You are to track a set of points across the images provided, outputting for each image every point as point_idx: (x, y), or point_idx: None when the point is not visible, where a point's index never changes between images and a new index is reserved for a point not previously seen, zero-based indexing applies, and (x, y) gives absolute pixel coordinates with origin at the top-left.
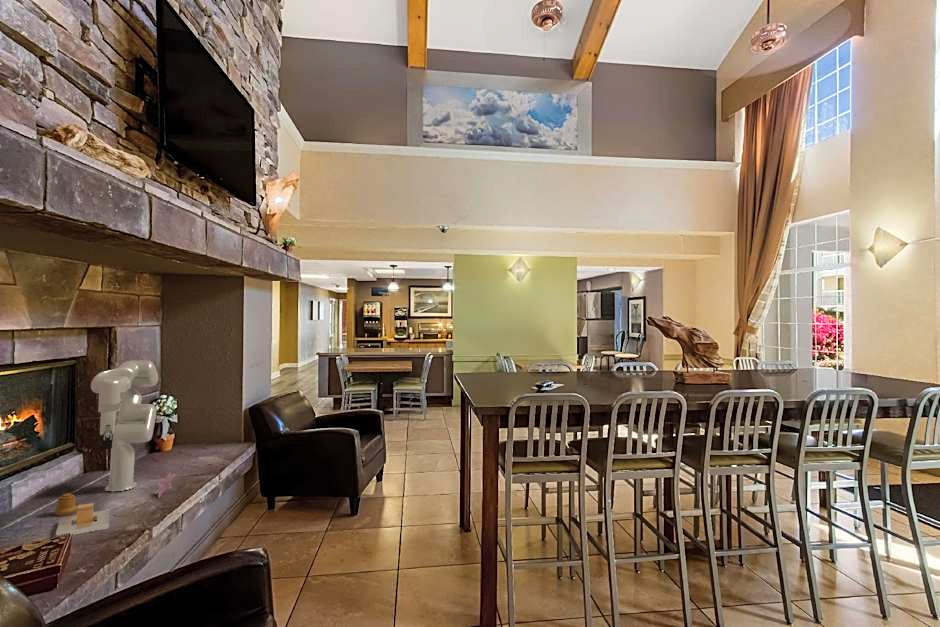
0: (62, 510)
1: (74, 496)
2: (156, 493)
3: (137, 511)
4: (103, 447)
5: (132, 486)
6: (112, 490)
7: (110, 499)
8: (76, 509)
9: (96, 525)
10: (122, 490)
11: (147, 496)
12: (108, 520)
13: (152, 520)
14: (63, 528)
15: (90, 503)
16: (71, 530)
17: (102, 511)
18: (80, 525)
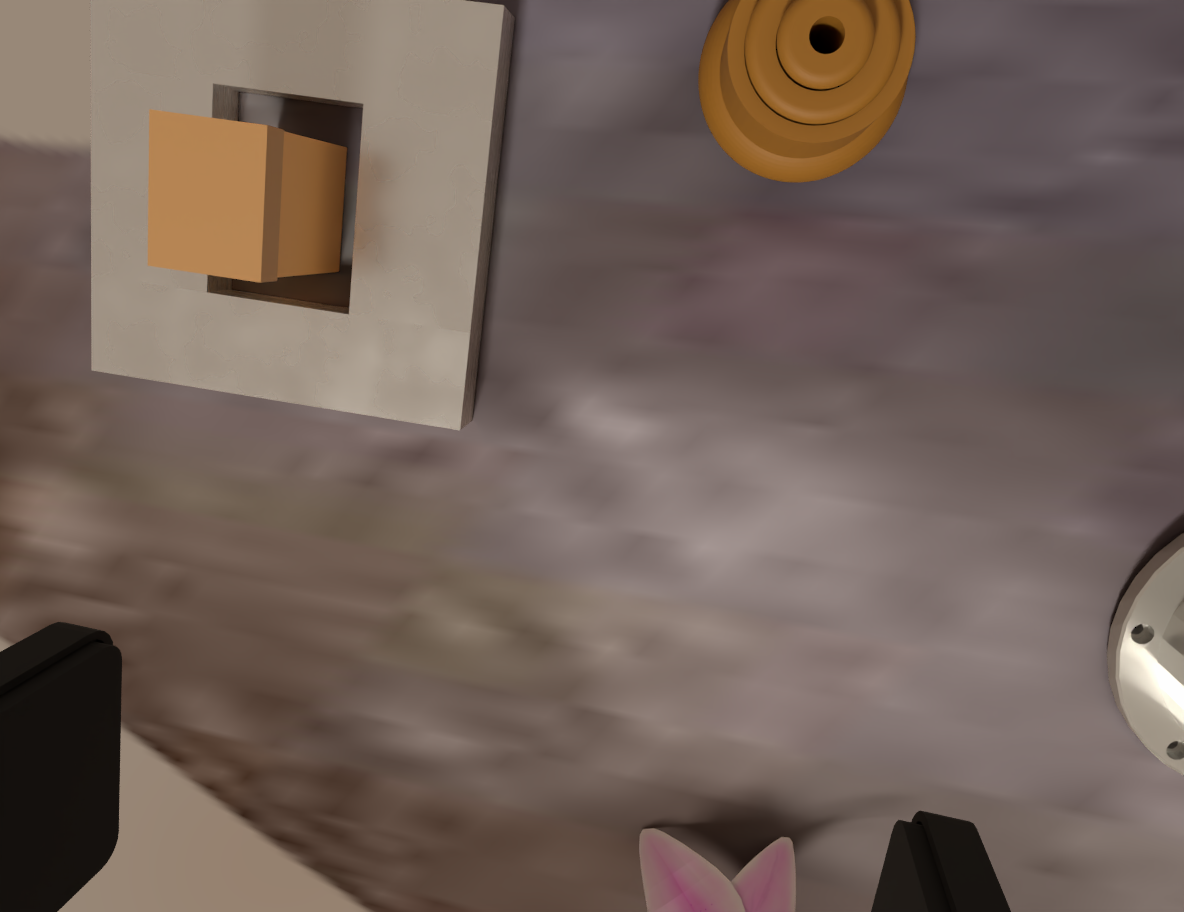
0: (720, 31)
1: (815, 135)
2: (776, 849)
3: (399, 617)
4: (9, 668)
5: (1151, 738)
6: (1172, 556)
7: (931, 496)
8: (753, 172)
9: (94, 276)
10: (1113, 636)
11: (768, 771)
12: (163, 377)
13: None
14: (172, 19)
15: (254, 250)
16: (91, 81)
17: (446, 368)
18: None
